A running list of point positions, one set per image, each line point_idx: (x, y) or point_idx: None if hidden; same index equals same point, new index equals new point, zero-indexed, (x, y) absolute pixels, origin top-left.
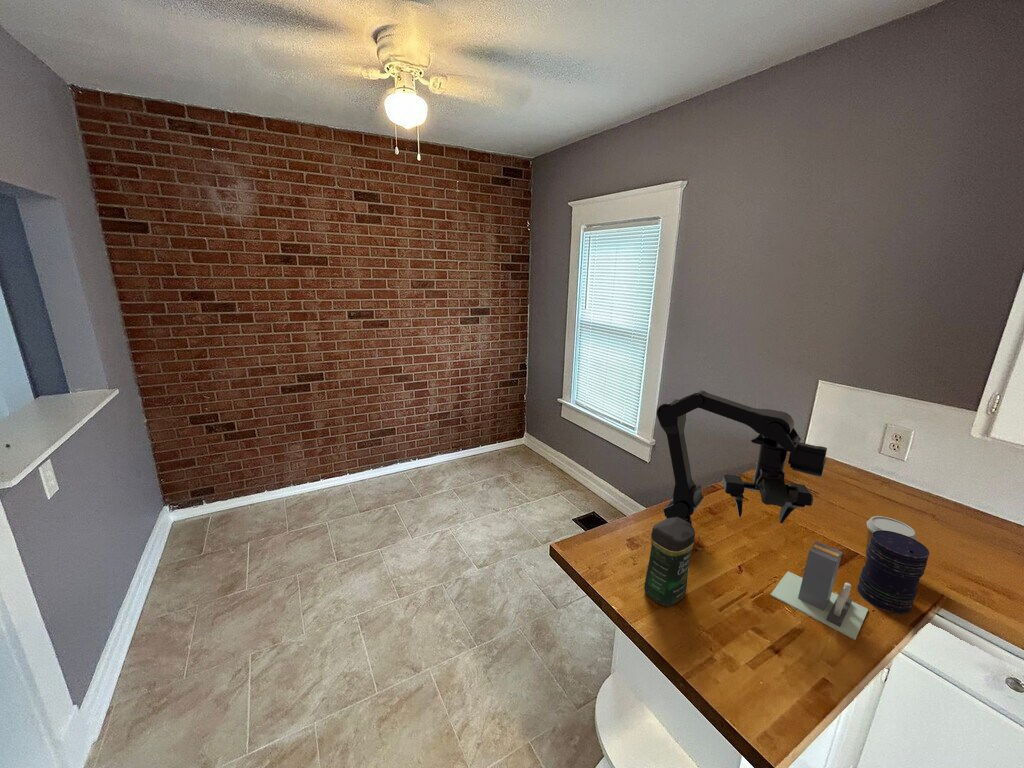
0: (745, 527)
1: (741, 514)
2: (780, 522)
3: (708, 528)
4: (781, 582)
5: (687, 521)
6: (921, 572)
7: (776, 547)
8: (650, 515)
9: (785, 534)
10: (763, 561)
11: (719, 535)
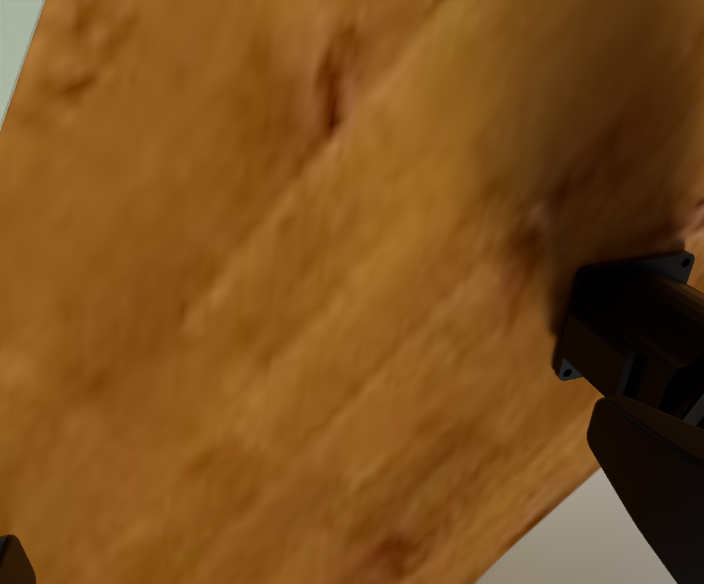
0: (240, 523)
1: (637, 424)
2: (5, 549)
3: (440, 421)
4: (25, 2)
5: (662, 350)
6: None
7: (64, 437)
8: None
9: None
10: (158, 251)
11: (395, 389)
